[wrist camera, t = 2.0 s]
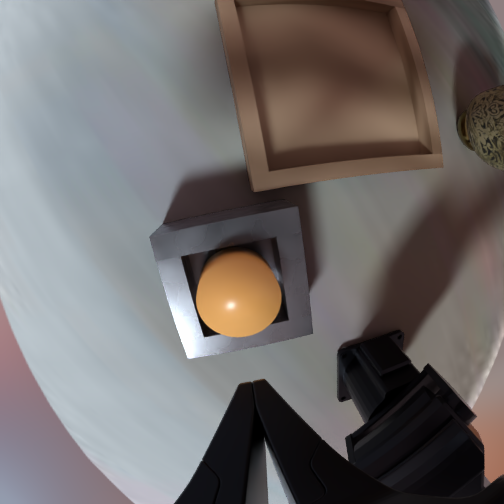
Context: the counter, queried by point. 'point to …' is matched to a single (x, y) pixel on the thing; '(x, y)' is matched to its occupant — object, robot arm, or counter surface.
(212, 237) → the panel
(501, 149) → the ornate lamp shade
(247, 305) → the button
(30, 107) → the counter surface
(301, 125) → the wooden tray
